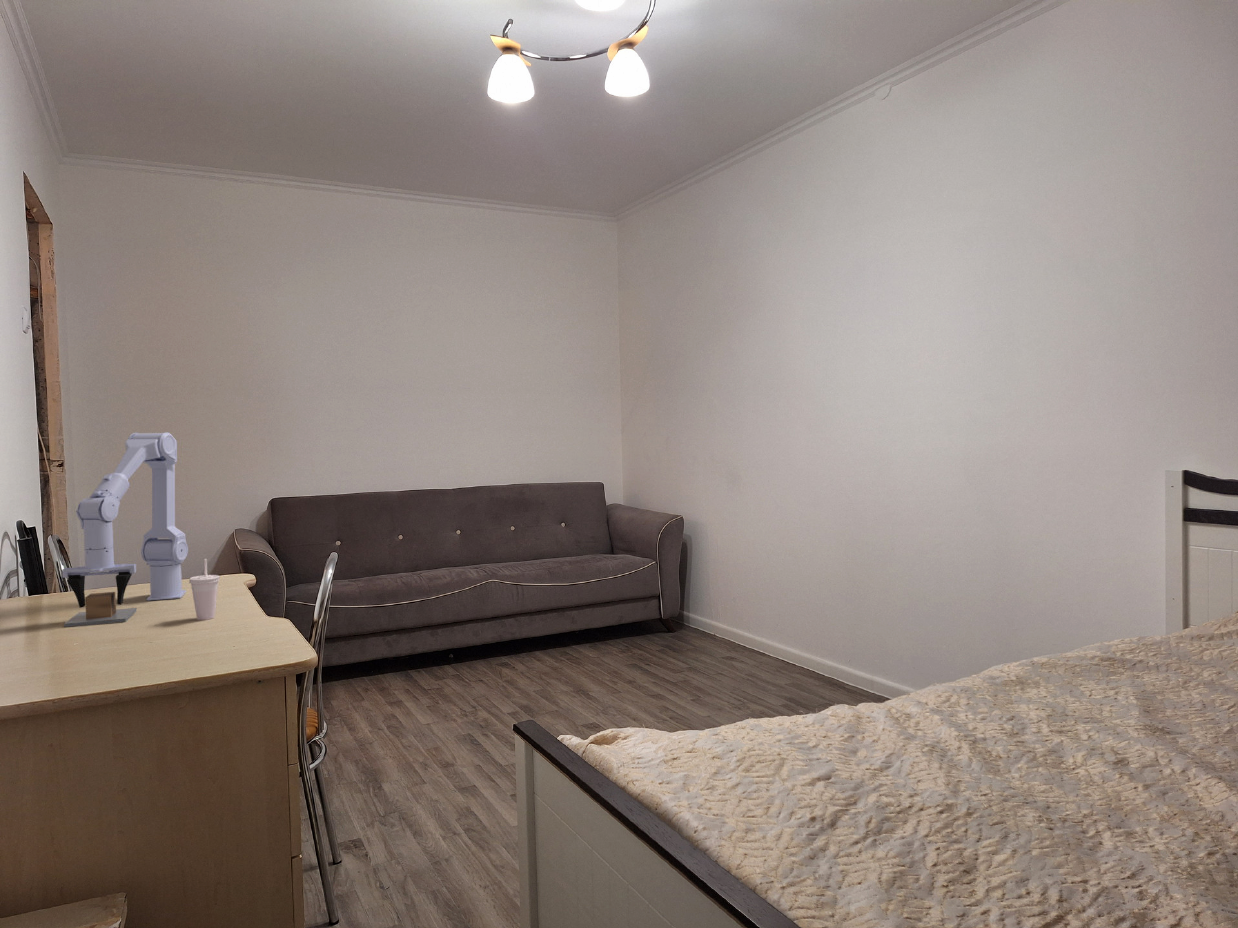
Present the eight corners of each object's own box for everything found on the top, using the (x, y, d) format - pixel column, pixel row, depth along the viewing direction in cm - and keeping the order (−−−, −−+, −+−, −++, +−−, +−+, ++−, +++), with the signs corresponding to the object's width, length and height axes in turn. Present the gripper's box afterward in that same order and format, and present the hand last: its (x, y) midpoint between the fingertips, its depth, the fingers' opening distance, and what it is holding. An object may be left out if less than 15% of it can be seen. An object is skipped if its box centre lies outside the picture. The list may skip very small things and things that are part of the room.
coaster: (79, 615, 191) (78, 612, 191) (136, 611, 195) (136, 607, 195) (64, 627, 180) (64, 623, 180) (125, 621, 184) (125, 618, 184)
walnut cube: (91, 614, 189) (90, 593, 189) (116, 612, 191) (115, 591, 190) (86, 618, 184) (85, 597, 184) (111, 616, 186) (110, 595, 186)
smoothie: (226, 614, 190) (224, 556, 190) (210, 621, 184) (208, 561, 183) (201, 614, 191) (199, 556, 190) (184, 620, 184) (182, 561, 184)
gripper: (57, 552, 181) (59, 611, 181) (130, 548, 186) (133, 605, 186) (66, 548, 187) (68, 605, 188) (137, 544, 192) (139, 599, 193)
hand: (101, 605), depth 187 cm, fingers open, 7 cm apart
